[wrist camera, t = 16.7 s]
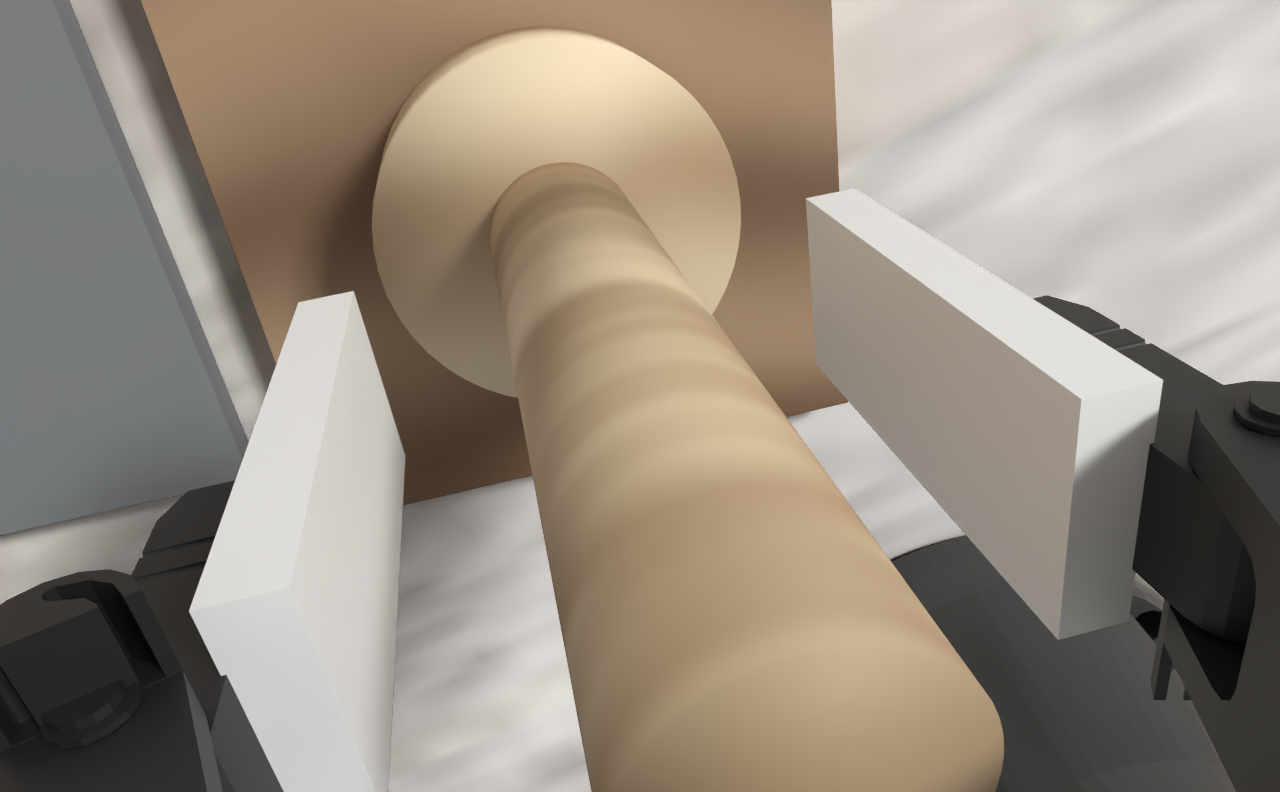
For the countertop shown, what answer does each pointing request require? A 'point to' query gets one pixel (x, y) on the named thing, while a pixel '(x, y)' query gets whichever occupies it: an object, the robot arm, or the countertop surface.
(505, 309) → the masher
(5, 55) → the mat
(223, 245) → the countertop surface
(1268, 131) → the countertop surface
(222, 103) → the board
